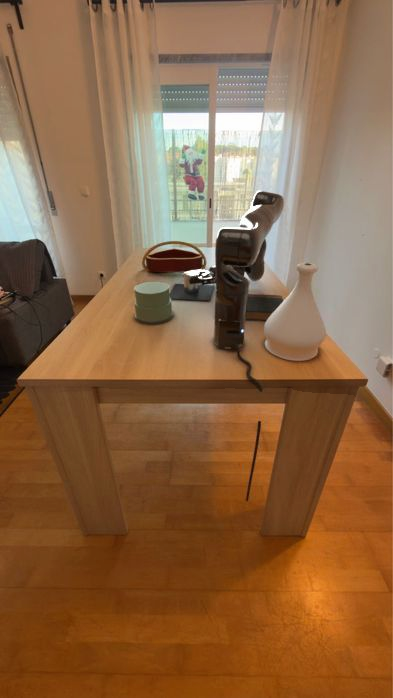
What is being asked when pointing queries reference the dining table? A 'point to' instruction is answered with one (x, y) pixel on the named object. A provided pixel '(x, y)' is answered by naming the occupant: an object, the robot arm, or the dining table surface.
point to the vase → (296, 321)
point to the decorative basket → (173, 259)
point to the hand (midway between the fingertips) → (186, 278)
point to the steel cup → (187, 286)
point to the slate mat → (202, 295)
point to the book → (262, 306)
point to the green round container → (153, 303)
